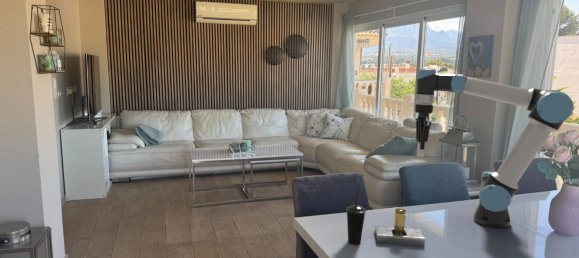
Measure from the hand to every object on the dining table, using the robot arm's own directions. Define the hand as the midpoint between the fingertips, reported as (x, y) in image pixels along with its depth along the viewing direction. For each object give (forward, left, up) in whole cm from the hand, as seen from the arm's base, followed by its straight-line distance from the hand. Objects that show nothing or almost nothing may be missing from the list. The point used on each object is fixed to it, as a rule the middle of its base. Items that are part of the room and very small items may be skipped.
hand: (420, 156), depth 187 cm
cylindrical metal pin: (+11, +25, -29) cm, 40 cm away
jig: (+11, +25, -29) cm, 40 cm away
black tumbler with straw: (+29, +32, -30) cm, 52 cm away
